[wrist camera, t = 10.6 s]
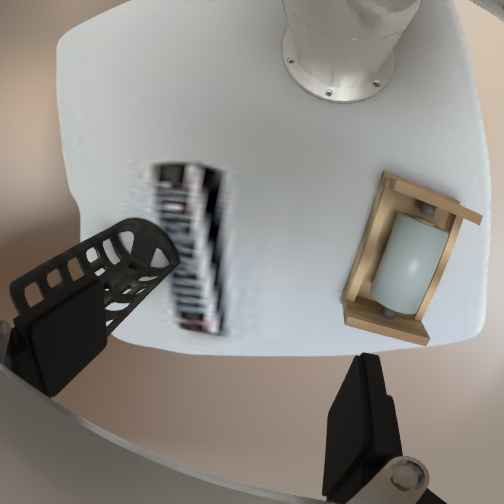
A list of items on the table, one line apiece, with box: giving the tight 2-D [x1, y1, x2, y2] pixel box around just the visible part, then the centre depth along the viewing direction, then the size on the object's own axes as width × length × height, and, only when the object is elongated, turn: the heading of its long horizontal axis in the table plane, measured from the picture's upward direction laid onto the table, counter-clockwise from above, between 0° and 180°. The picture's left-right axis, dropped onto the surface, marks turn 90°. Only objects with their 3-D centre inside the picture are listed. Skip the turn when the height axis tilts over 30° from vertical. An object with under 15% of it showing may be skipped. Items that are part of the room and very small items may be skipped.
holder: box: [9, 218, 180, 337], centre depth 31 cm, size 11×8×20 cm
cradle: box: [340, 171, 483, 346], centre depth 30 cm, size 16×10×7 cm, turn 166°
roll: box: [369, 212, 449, 314], centre depth 30 cm, size 10×6×6 cm, turn 166°
